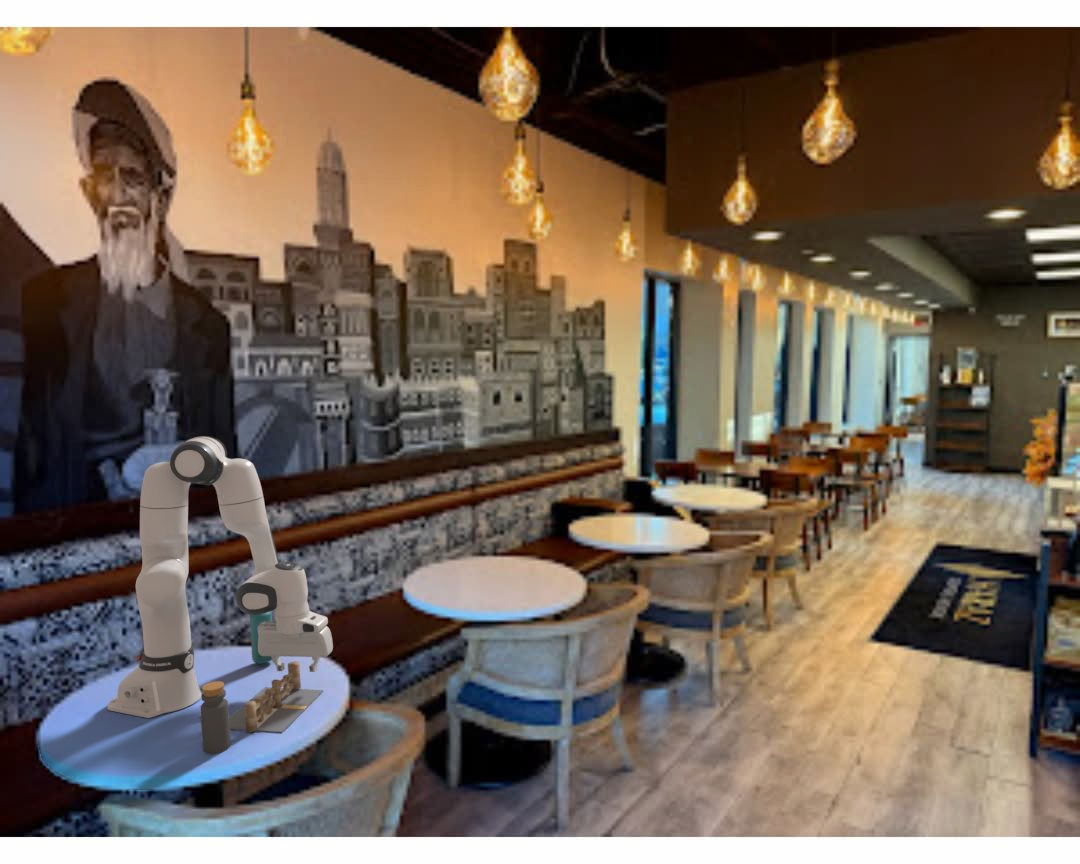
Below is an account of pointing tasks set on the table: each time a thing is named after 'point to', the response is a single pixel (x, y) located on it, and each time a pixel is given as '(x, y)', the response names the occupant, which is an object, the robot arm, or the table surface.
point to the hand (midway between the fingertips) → (297, 670)
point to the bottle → (215, 718)
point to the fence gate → (291, 679)
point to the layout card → (278, 711)
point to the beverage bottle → (254, 624)
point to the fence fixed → (258, 705)
